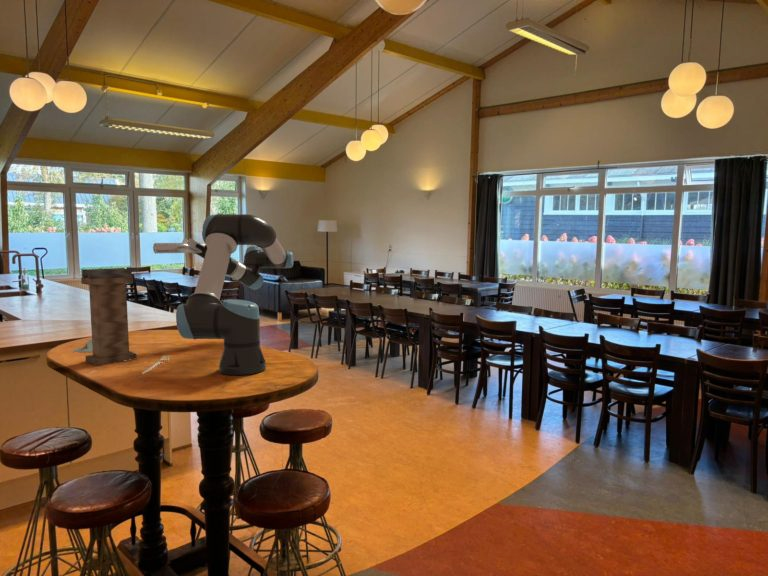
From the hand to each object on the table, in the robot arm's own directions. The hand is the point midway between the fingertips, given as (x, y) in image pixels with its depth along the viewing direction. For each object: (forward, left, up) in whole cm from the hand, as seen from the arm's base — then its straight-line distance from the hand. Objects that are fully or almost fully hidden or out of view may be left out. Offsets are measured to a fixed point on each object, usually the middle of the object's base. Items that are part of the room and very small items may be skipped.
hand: (185, 241), depth 213 cm
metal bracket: (+15, +30, -43) cm, 55 cm away
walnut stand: (-9, +30, -43) cm, 53 cm away
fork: (-28, +20, -43) cm, 56 cm away
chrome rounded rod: (0, +2, -5) cm, 5 cm away
